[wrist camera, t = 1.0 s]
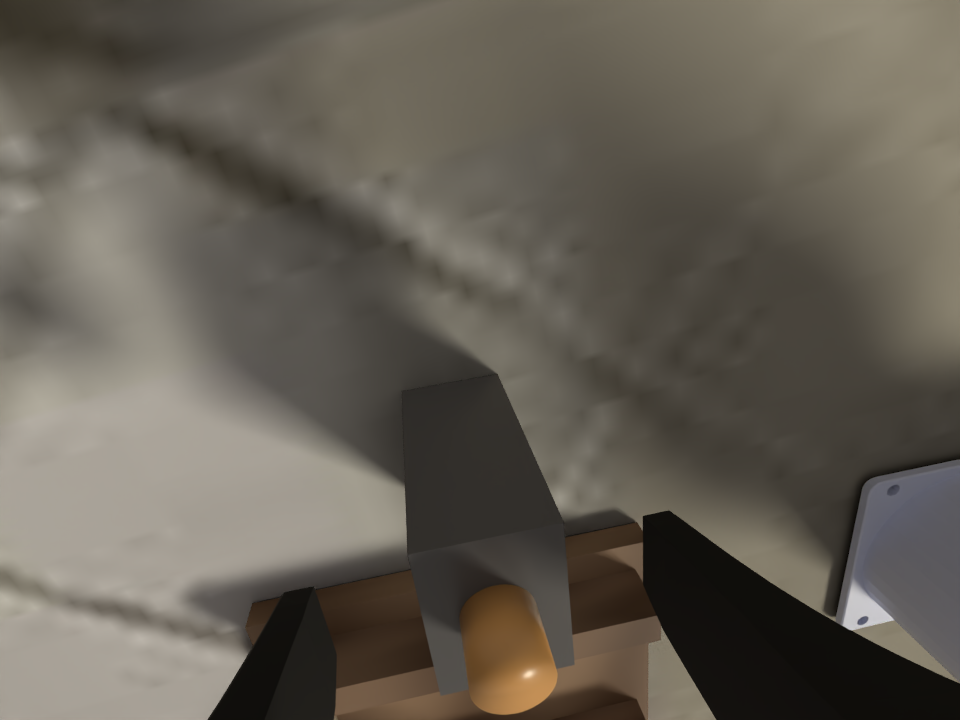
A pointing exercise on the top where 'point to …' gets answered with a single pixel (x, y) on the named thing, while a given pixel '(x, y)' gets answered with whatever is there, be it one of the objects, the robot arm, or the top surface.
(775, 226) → the top surface
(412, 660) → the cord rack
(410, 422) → the charcoal plug
